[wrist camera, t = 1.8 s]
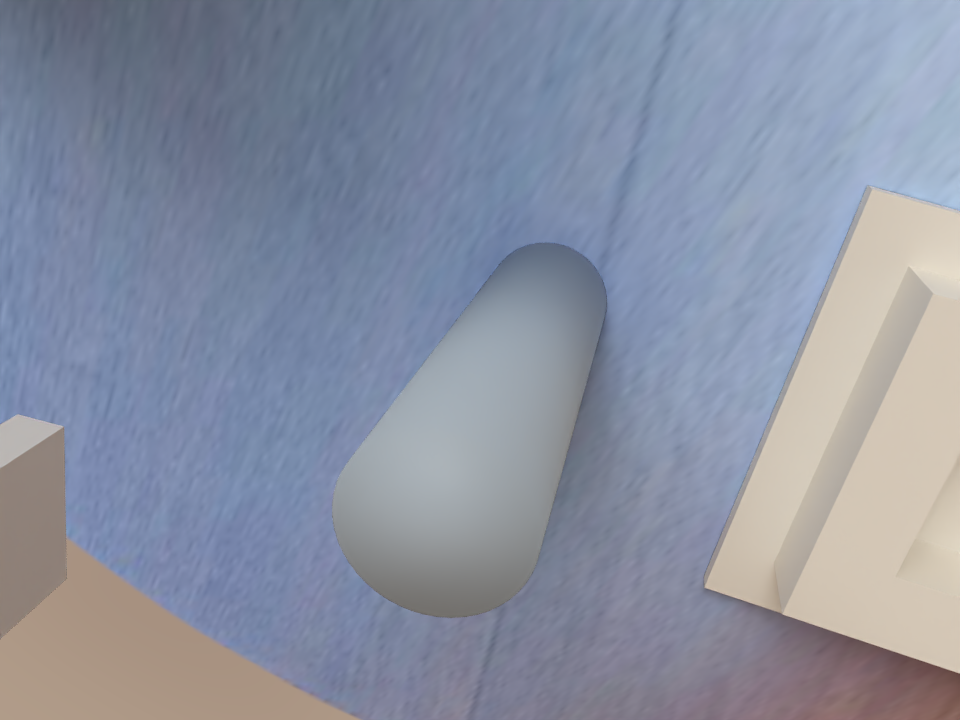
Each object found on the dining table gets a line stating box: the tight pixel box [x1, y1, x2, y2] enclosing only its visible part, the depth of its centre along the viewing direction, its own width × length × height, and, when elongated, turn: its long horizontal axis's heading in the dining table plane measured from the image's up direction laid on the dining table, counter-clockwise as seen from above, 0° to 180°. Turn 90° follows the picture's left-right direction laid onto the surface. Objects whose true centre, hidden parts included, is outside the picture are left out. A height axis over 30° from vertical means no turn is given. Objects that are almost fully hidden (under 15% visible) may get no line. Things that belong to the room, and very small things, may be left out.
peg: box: [332, 243, 607, 618], centre depth 26 cm, size 4×4×16 cm
